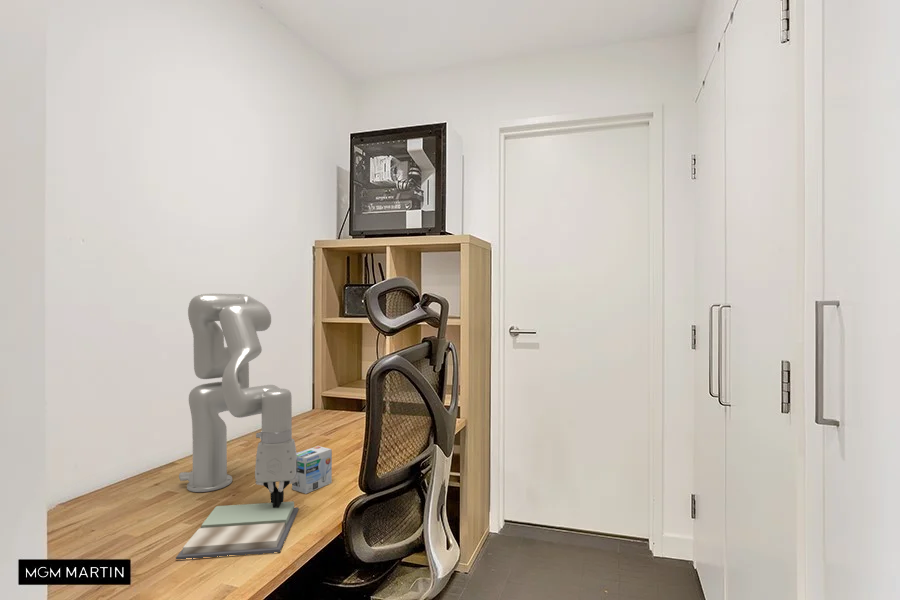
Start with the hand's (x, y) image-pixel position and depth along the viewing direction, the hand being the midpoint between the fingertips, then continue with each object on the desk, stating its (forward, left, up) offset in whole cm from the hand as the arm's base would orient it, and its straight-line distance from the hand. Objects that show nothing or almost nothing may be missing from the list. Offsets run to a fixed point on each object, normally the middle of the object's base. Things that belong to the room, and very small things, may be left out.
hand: (277, 505), depth 124 cm
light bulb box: (+6, +19, -3) cm, 21 cm away
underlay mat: (-6, -9, -3) cm, 11 cm away
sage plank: (-6, -3, -2) cm, 7 cm away
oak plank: (-6, -14, -2) cm, 15 cm away
